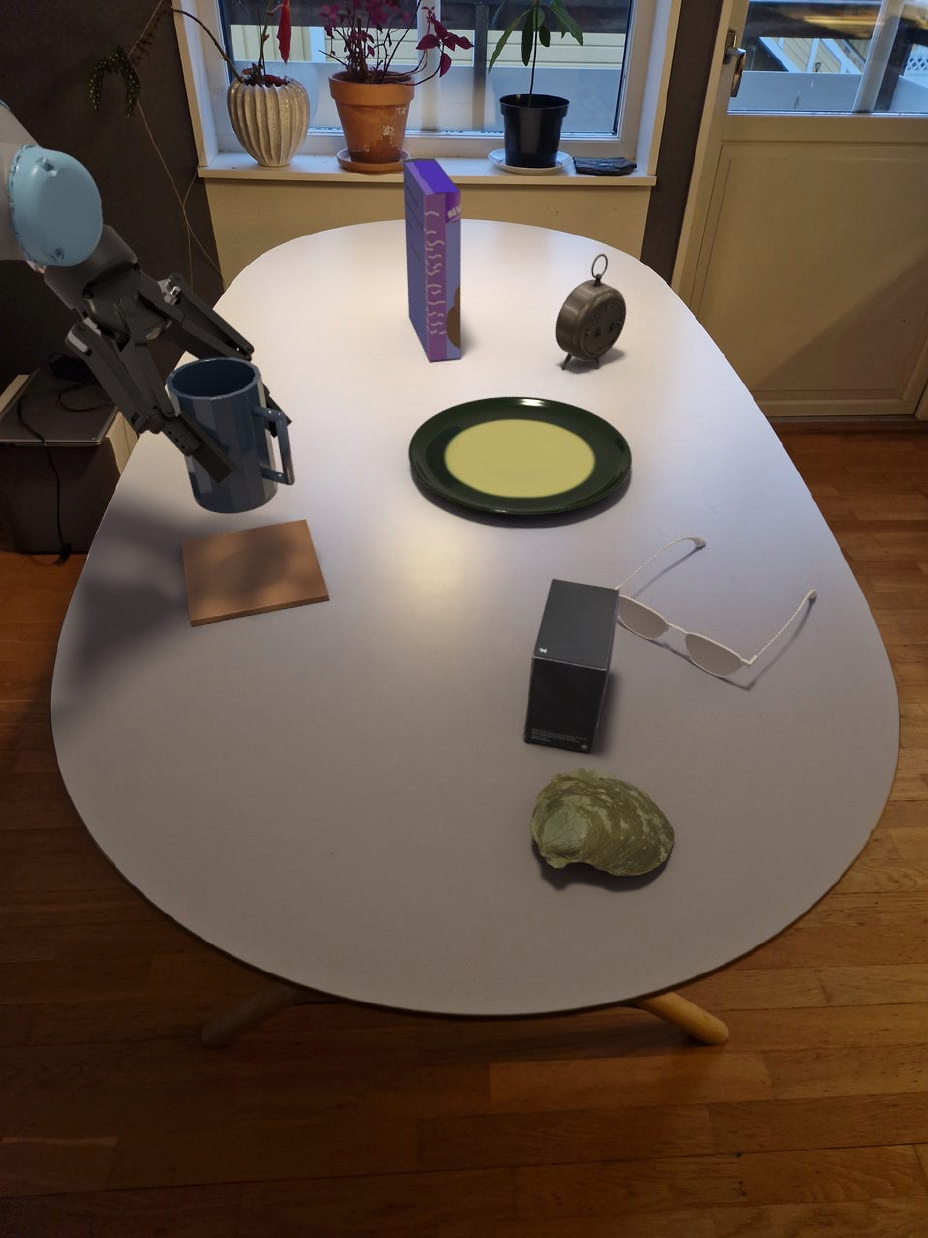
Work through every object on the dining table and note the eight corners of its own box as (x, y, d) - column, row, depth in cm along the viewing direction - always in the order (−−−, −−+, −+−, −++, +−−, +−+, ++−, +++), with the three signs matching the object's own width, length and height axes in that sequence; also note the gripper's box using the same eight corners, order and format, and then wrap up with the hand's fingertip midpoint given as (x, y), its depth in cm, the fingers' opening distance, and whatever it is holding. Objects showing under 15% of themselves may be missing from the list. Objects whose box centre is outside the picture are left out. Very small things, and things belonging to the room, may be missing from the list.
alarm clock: (601, 348, 135) (613, 240, 124) (626, 360, 132) (641, 251, 121) (550, 367, 130) (558, 257, 119) (575, 380, 127) (586, 268, 116)
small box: (595, 756, 74) (609, 671, 67) (521, 742, 76) (528, 657, 69) (608, 671, 82) (623, 587, 75) (541, 660, 83) (549, 575, 76)
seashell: (698, 819, 68) (645, 806, 60) (659, 904, 68) (601, 902, 60) (595, 763, 74) (535, 745, 66) (559, 841, 74) (495, 831, 66)
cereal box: (460, 359, 132) (460, 190, 116) (429, 362, 131) (426, 192, 115) (436, 314, 145) (434, 156, 128) (408, 316, 144) (402, 158, 128)
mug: (176, 501, 84) (146, 387, 76) (227, 460, 89) (204, 350, 81) (273, 530, 80) (253, 414, 72) (320, 486, 86) (306, 374, 78)
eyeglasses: (604, 618, 88) (609, 588, 85) (695, 539, 98) (701, 510, 95) (741, 692, 80) (751, 661, 78) (824, 598, 90) (835, 568, 88)
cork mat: (191, 626, 87) (189, 620, 86) (182, 546, 96) (180, 540, 96) (329, 600, 90) (328, 594, 89) (306, 524, 100) (305, 519, 99)
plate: (659, 441, 114) (662, 424, 112) (581, 556, 95) (583, 538, 94) (470, 394, 123) (470, 378, 122) (367, 490, 105) (365, 472, 103)
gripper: (138, 239, 85) (297, 420, 90) (-35, 318, 70) (167, 527, 76) (170, 188, 79) (336, 384, 85) (-11, 262, 65) (204, 491, 71)
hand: (256, 451), depth 81 cm, fingers closed on mug, 8 cm apart
